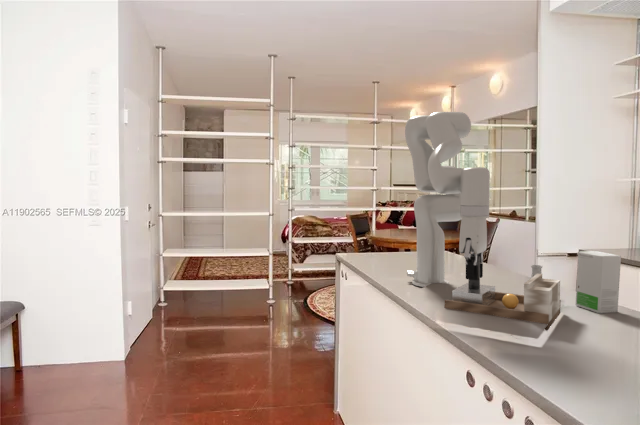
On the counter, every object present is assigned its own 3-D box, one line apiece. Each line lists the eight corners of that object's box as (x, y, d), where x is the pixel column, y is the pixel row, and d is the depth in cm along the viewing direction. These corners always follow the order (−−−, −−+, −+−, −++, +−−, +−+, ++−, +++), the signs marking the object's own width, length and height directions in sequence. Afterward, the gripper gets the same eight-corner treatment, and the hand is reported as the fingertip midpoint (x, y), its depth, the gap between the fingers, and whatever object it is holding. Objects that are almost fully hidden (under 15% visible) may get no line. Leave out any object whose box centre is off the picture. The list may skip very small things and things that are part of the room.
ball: (500, 309, 115) (500, 294, 115) (504, 305, 118) (504, 291, 118) (516, 311, 112) (516, 296, 112) (520, 308, 116) (520, 293, 115)
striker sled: (452, 305, 119) (452, 257, 118) (466, 296, 128) (467, 252, 127) (482, 309, 114) (482, 260, 113) (495, 300, 123) (495, 254, 123)
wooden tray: (444, 313, 117) (444, 275, 116) (466, 299, 131) (467, 266, 131) (547, 330, 102) (548, 287, 101) (560, 312, 116) (560, 275, 116)
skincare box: (574, 306, 123) (575, 251, 122) (594, 304, 124) (595, 250, 124) (600, 314, 115) (601, 255, 114) (620, 312, 116) (621, 254, 115)
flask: (553, 301, 128) (553, 267, 128) (526, 300, 130) (527, 267, 129) (545, 295, 135) (545, 263, 135) (520, 295, 137) (520, 263, 136)
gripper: (470, 210, 129) (470, 272, 129) (450, 213, 115) (450, 281, 116) (497, 211, 124) (496, 275, 125) (479, 214, 111) (478, 285, 112)
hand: (474, 277), depth 121 cm, fingers open, 3 cm apart
